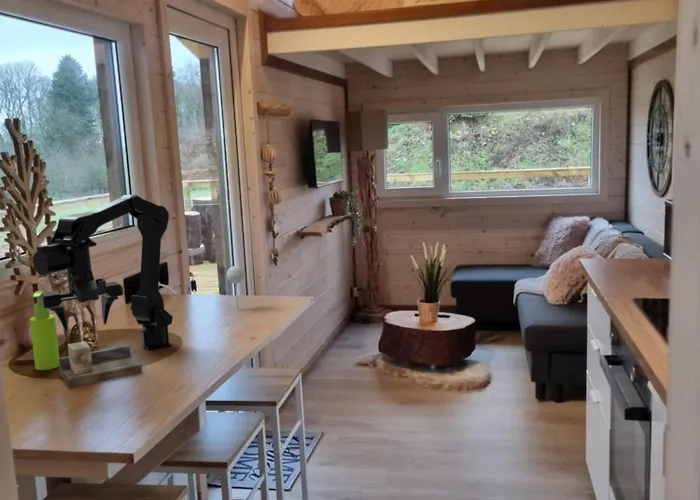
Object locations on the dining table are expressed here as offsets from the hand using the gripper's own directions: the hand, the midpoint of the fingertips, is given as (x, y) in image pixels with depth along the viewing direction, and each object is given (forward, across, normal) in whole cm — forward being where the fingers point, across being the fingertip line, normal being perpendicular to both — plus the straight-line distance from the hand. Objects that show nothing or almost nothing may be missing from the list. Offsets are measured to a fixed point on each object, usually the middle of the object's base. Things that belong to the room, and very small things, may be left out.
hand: (85, 327), depth 167 cm
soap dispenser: (+11, -8, +10) cm, 17 cm away
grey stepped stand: (+11, +1, -5) cm, 12 cm away
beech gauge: (+9, -3, -6) cm, 11 cm away
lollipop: (+13, +55, +32) cm, 65 cm away
